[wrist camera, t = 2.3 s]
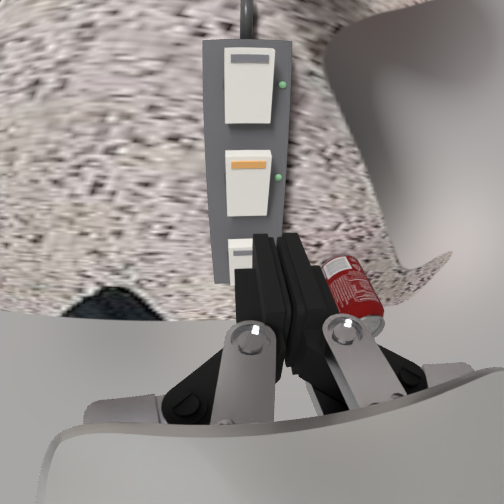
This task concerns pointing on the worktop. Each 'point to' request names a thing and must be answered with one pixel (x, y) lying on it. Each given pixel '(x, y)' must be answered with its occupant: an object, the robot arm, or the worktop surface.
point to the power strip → (243, 142)
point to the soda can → (354, 292)
